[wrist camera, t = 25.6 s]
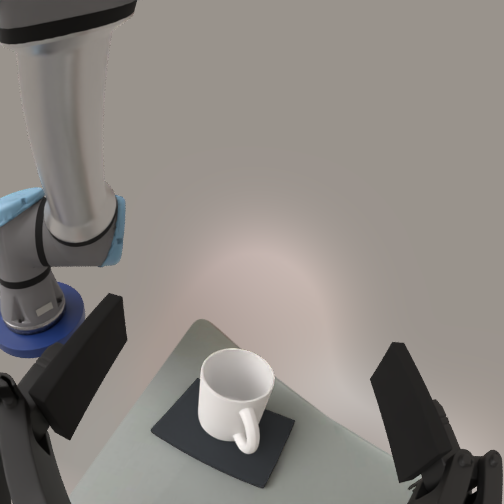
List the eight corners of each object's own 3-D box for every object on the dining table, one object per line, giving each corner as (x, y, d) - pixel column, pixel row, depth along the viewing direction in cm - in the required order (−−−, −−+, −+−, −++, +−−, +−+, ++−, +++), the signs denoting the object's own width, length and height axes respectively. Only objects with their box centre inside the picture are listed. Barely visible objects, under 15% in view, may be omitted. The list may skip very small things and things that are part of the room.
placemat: (151, 432, 28) (150, 429, 28) (197, 381, 39) (197, 377, 38) (262, 488, 23) (264, 486, 23) (293, 423, 34) (295, 420, 33)
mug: (276, 459, 27) (300, 421, 23) (212, 471, 24) (218, 438, 20) (247, 392, 37) (260, 345, 33) (192, 398, 34) (195, 350, 30)
